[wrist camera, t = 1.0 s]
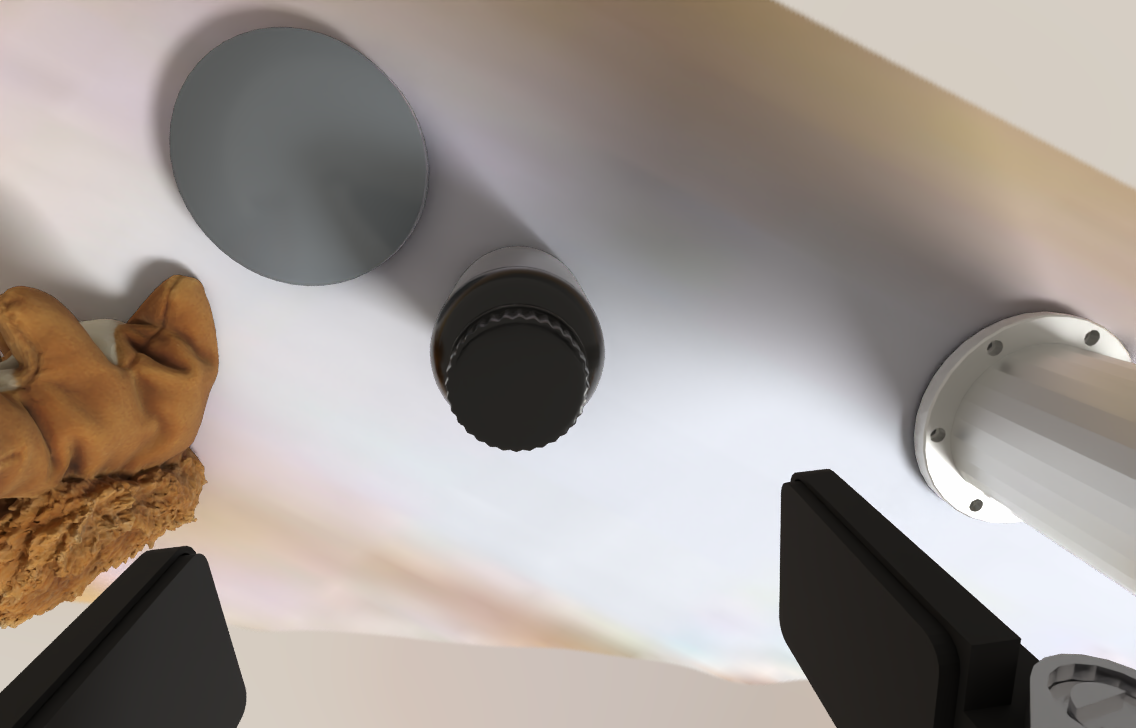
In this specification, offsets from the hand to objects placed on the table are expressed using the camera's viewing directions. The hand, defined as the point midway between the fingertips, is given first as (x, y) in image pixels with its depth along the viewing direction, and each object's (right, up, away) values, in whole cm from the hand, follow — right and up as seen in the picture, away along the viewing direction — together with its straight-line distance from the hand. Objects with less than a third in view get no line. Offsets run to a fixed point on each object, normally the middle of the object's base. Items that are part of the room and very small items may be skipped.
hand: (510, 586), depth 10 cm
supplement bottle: (-2, +6, +22) cm, 23 cm away
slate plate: (-11, +13, +19) cm, 25 cm away
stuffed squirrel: (-21, +2, +22) cm, 30 cm away
